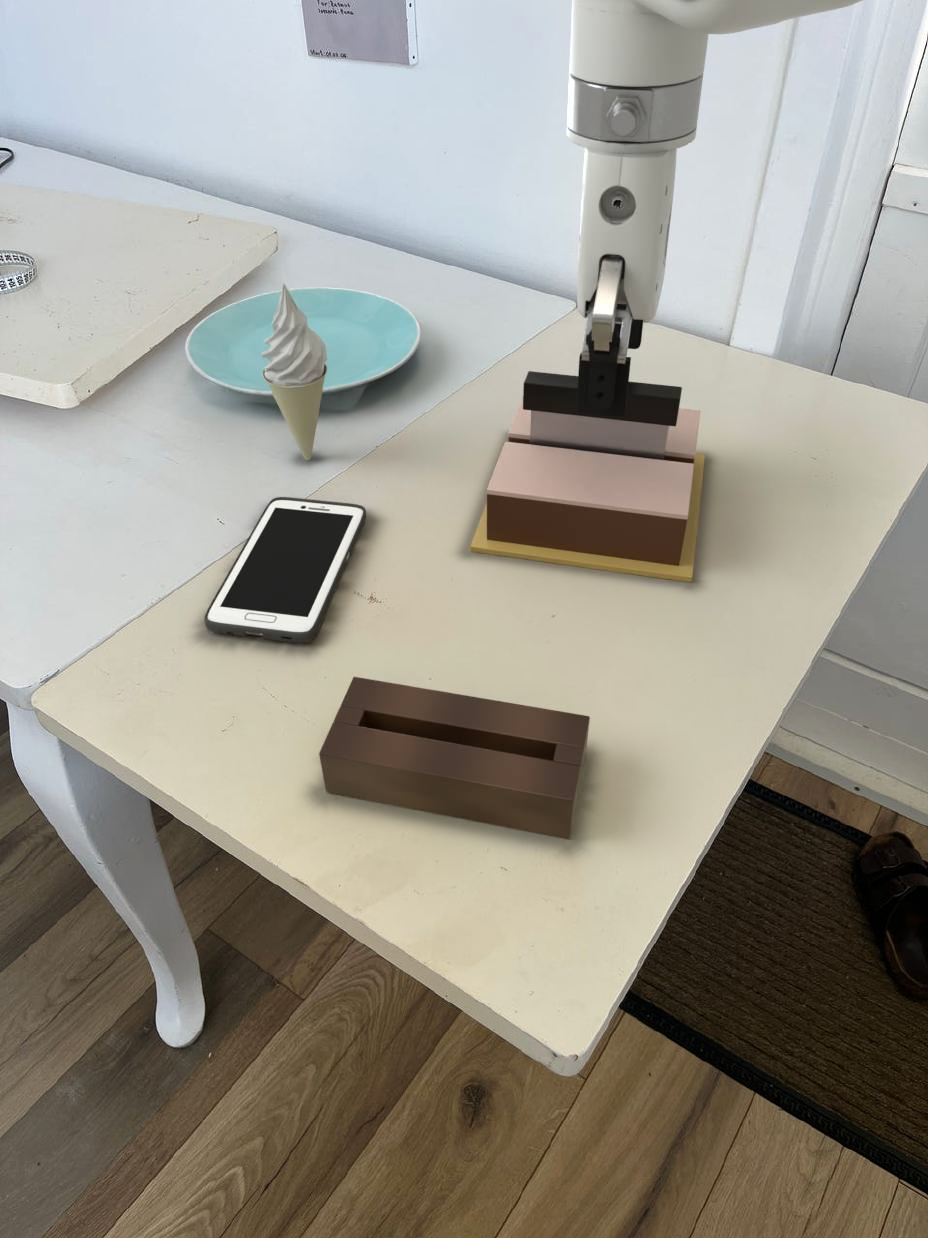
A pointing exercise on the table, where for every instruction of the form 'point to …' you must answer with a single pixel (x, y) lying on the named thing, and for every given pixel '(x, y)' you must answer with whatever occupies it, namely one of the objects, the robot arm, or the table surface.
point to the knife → (600, 417)
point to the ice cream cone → (296, 370)
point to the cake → (596, 504)
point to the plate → (343, 318)
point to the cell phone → (287, 570)
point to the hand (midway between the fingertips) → (610, 377)
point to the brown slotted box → (457, 756)
